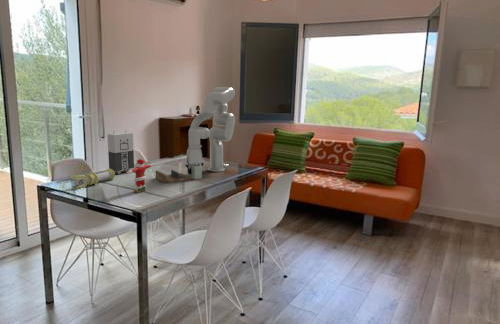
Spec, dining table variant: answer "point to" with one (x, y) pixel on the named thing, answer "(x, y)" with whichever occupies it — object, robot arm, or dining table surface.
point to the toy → (120, 151)
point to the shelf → (171, 177)
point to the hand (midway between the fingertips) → (194, 173)
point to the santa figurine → (140, 175)
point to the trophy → (92, 178)
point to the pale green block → (195, 171)
